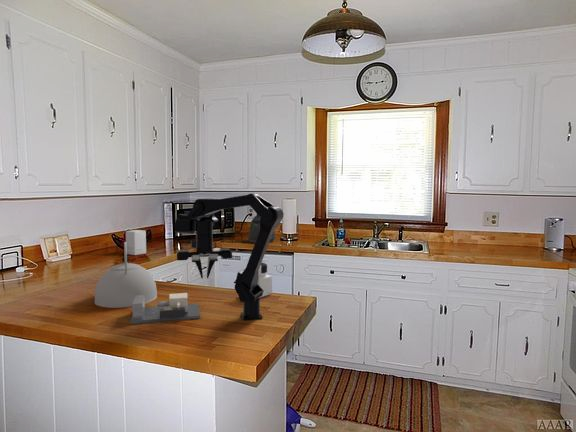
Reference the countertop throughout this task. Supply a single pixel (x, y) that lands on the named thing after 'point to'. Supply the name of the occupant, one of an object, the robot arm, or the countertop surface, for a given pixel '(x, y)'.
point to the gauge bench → (156, 314)
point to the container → (264, 280)
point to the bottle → (256, 230)
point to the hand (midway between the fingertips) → (204, 278)
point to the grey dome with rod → (124, 285)
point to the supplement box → (136, 242)
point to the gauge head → (176, 301)
